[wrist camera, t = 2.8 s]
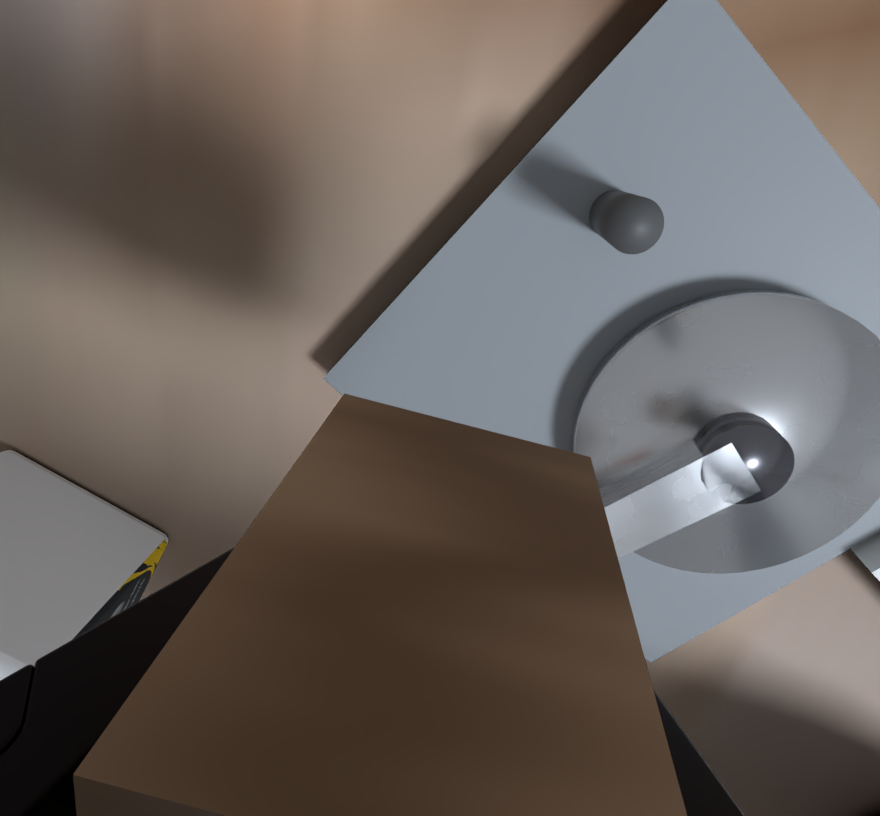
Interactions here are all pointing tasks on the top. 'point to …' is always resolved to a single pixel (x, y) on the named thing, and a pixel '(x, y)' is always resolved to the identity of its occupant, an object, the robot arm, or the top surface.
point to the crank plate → (632, 265)
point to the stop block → (402, 646)
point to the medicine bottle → (63, 561)
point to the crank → (735, 431)
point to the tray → (870, 553)
